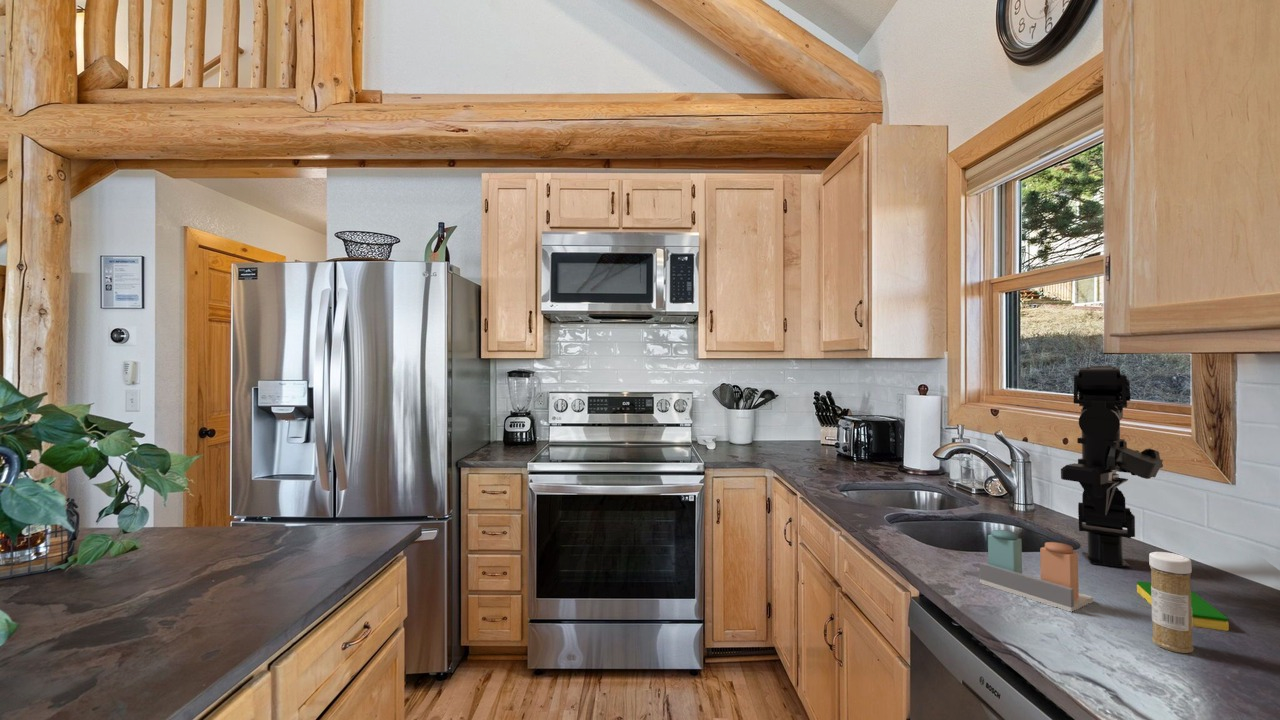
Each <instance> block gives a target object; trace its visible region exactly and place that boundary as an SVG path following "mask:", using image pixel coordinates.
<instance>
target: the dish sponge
mask: <svg viewBox="0 0 1280 720" xmlns="http://www.w3.org/2000/svg"><path fill="white" fill-rule="evenodd" d="M1151 585H1152V583H1151V582H1147V581H1141V580H1139V581H1136V592H1137V593H1138V595H1140V597H1142V598H1143V599H1144V598H1145V599H1146V600H1147V603H1148V604H1149V605H1151V606H1152V600H1151ZM1145 599H1144V600H1145ZM1146 600H1145V601H1146ZM1191 607H1192V620H1193V627H1196V628H1203V629H1211V630H1218V631H1224V632H1225V631H1229V630H1230V628H1229V627H1230V625H1229V617H1227V616H1225V615H1224V613H1222V612H1221V611H1220V610H1218V609H1217V608H1216V607H1214V606H1213V605H1211V604H1210V603H1209V602H1208V601H1207V600H1205V599H1204V598H1202V597H1201V596H1200V595H1198V594H1197V593H1196V592H1194V591H1193V590H1191Z"/></svg>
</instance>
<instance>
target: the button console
mask: <svg viewBox="0 0 1280 720" xmlns="http://www.w3.org/2000/svg"><path fill="white" fill-rule="evenodd" d="M978 568H979V584H982V585H986V586H987V587H991V588H993V589H994V588H995V589H998V590H999V591H1004V592H1007V593H1010V594H1012V593H1013V594H1012V595H1015V596H1016V595H1017V596H1019V597H1022V596H1023V597H1022V598H1025V597H1026V598H1025V599H1028V600H1031V599H1032V601H1034V602H1037V601H1038V603H1040V602H1041V604H1044V605H1048V606H1050V605H1051V607H1053V606H1054V608H1056V607H1058V608H1057V609H1059V608H1061V609H1060V610H1062V609H1064V610H1063V611H1065V610H1067V611H1066V612H1068V611H1071V612H1070V613H1073V612H1075V611H1076V610H1075V609H1077V610H1079V609H1081V608H1082V606H1083V607H1085V606H1087V605H1089V604H1091V603H1093V602H1094V597H1093V596H1090V595H1087V594H1084V593H1080V592H1079V598H1078V599H1076V600H1074V589H1073V588H1070V587H1066V586H1063V585H1059V584H1056V583H1052V582H1049V581H1045V580H1042V579H1041V578H1038V577H1034V576H1032V575H1028V574H1024V573H1022V574H1021V573H1018V572H1014V571H1011V570H1007V569H1004V568H1000V567H997V566H993V565H990V564H988V563H986V562H980V563H979V567H978ZM1090 602H1091V603H1090ZM1088 603H1089V604H1088ZM1086 604H1087V605H1086ZM1084 605H1085V606H1084ZM1080 607H1081V608H1080ZM1078 608H1079V609H1078ZM1074 610H1075V611H1074ZM1072 611H1073V612H1072Z"/></svg>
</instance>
